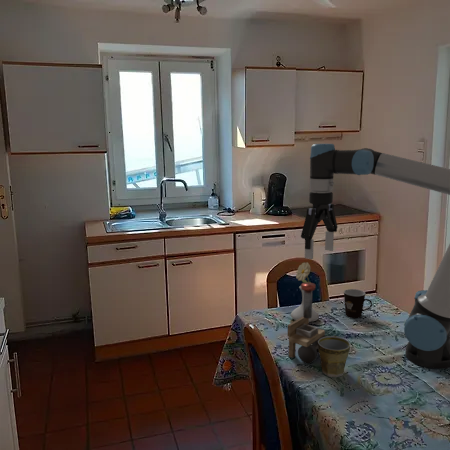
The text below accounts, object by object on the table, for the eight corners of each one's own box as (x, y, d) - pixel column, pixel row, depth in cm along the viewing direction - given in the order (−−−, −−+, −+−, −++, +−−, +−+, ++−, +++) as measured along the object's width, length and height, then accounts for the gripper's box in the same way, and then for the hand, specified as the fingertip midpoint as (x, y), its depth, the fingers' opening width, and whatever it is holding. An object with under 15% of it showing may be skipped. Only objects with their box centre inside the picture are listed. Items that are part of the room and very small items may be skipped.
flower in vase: (289, 313, 194) (290, 256, 189) (316, 314, 193) (318, 256, 189) (292, 326, 181) (293, 265, 176) (321, 326, 181) (323, 265, 176)
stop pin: (316, 316, 156) (317, 284, 154) (309, 320, 153) (310, 287, 150) (305, 313, 159) (305, 281, 157) (298, 317, 156) (298, 285, 153)
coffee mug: (338, 312, 194) (339, 290, 192) (356, 310, 197) (357, 288, 195) (354, 323, 183) (355, 299, 181) (372, 320, 186) (374, 297, 184)
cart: (330, 353, 159) (331, 321, 157) (313, 366, 150) (313, 333, 148) (305, 344, 165) (306, 314, 163) (287, 357, 156) (287, 325, 154)
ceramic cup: (348, 382, 140) (349, 352, 138) (315, 377, 143) (316, 347, 141) (349, 362, 153) (351, 334, 151) (319, 358, 155) (320, 330, 153)
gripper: (311, 196, 139) (309, 264, 143) (349, 188, 157) (346, 248, 161) (290, 194, 144) (289, 260, 148) (329, 187, 162) (327, 245, 166)
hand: (319, 254), depth 155 cm, fingers open, 13 cm apart
